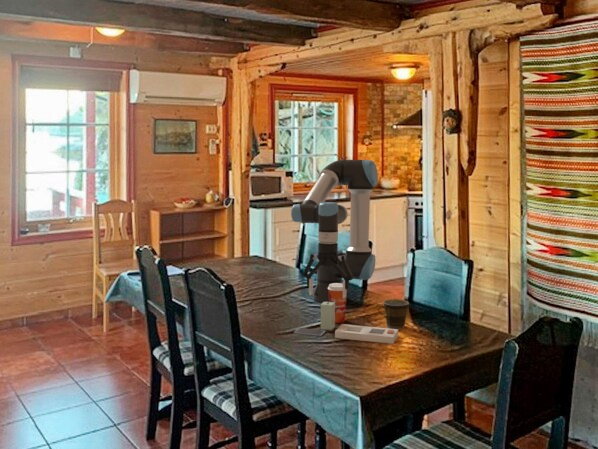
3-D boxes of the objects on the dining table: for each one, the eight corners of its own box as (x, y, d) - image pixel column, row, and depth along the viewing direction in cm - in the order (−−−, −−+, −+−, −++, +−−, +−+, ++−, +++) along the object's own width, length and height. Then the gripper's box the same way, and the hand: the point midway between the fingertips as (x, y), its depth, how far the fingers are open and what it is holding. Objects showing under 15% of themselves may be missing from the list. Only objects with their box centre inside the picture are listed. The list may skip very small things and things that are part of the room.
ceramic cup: (400, 322, 256) (400, 298, 255) (413, 329, 247) (413, 304, 245) (371, 325, 251) (372, 301, 250) (384, 332, 242) (384, 307, 241)
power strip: (341, 330, 245) (341, 322, 245) (398, 335, 238) (398, 327, 238) (334, 337, 236) (334, 329, 236) (393, 343, 229) (393, 335, 229)
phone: (299, 330, 248) (299, 327, 247) (325, 333, 244) (325, 330, 244) (293, 334, 242) (293, 331, 242) (321, 337, 238) (321, 334, 238)
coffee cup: (330, 324, 253) (330, 287, 251) (325, 318, 261) (325, 283, 259) (350, 323, 255) (350, 286, 253) (344, 317, 263) (345, 282, 261)
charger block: (323, 326, 251) (324, 301, 250) (334, 327, 250) (334, 302, 248) (320, 329, 247) (320, 303, 246) (331, 330, 245) (331, 304, 244)
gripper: (294, 242, 244) (294, 295, 247) (357, 245, 236) (356, 300, 239) (300, 239, 251) (300, 291, 254) (361, 242, 243) (361, 296, 246)
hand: (327, 296), depth 246 cm, fingers open, 13 cm apart
